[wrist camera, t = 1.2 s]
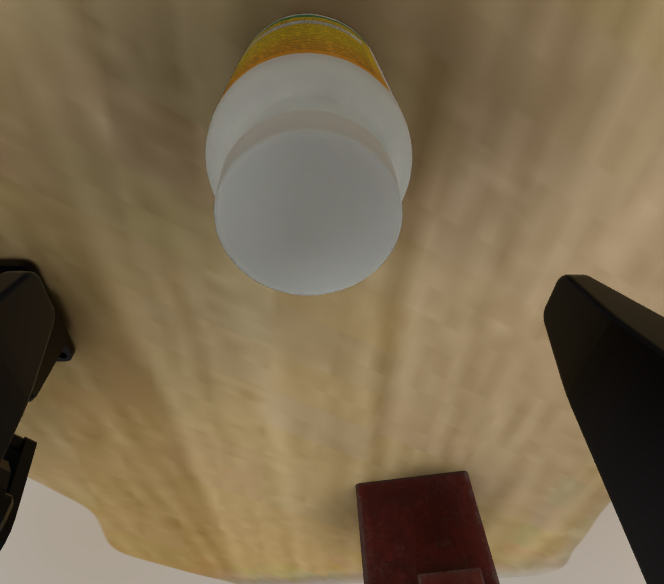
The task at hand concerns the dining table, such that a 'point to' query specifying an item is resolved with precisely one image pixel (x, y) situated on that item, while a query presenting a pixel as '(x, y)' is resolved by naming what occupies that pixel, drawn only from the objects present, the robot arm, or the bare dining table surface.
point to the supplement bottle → (308, 159)
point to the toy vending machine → (423, 532)
